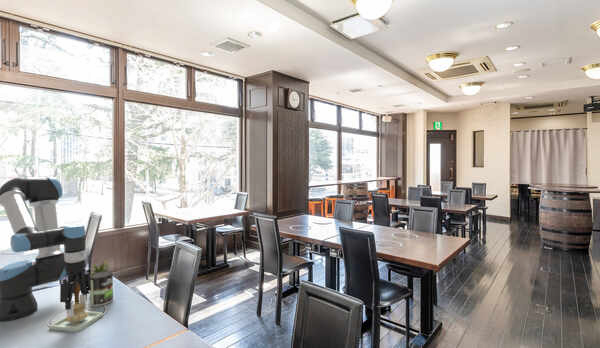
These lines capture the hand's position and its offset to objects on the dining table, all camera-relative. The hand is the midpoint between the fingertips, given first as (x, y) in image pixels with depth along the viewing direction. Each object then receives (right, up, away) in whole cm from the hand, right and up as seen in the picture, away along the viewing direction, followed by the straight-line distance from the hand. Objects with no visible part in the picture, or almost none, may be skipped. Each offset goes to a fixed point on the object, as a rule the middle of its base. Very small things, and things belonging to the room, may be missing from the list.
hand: (76, 312), depth 134 cm
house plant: (-13, -4, +35) cm, 37 cm away
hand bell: (0, -3, 0) cm, 3 cm away
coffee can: (-3, -4, +21) cm, 21 cm away
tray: (0, -5, 0) cm, 5 cm away
